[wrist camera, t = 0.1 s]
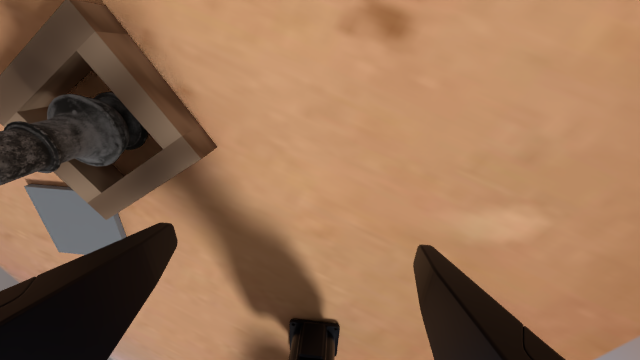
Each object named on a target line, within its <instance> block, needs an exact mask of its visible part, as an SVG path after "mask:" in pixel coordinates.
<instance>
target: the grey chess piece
mask: <svg viewBox="0 0 640 360" xmlns="http://www.w3.org/2000/svg"><path fill="white" fill-rule="evenodd" d="M147 135H148V132H147V130H146V129H145V128H144V127H143V126H142V125H141V124H140V122H139V121H138V120H137V119H136V118H135V117H134V116H133V114H132V113H131V112H130V111H129V110H128V109H127V108H126V106H125V105H124V104H123V103H122V102H121V101H120V100H119V99H118V97H117V96H116V95H115V94H114V93H113V92H106V93H101V94H99V95H97V96H96V97H95V98H94V99H93V98H88V97H83V96H80V95H74V94H66V95H60V96H58V97H56V98H54V99H53V100H52V102H51V103H50V104H49V107H48V111H47V120H44V121H39V122H35V123H27V122H22V121H15V122H11V123H9V124H7V126H6V127H5V128H4V131H0V185H3V184H5V183H8V182H11V181H13V180H16V179H19V178H21V177H24V176H26V175H29V174H32V173H34V172H42V173H51V172H54V171H56V170H57V169H58V168H59V167H60V164H61V163H64V162H66V161H69V160H72V159H74V158H75V159H77V160H79V161H81V162H83V163H86V164H88V165H92V166H107V165H110V164H112V163H114V162H115V161H116V160H117V159H118V158H119V156H120V154H121V153H122V152H123V151H124V150H125V149H126V150H131V149H136V148H138V147H140V146H142V145H143V144H144V143H145V141H146V139H147Z"/></svg>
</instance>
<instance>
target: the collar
mask: <svg viewBox="0 0 640 360" xmlns="http://www.w3.org/2000/svg"><path fill="white" fill-rule="evenodd" d="M92 69H93V70H94V71H95V72H96V73H97V75H98V76H99V77H100V78H101V79H102V80H103V81H104V83H105V84H106V85H107V86H108V87H109V88H110V89H111V91H112V92H113V93H114V94H115V95H116V96H117V97H118V99H119V100H120V101H121V102H122V103H123V104H124V105H125V106H126V108H127V109H128V110H129V111H130V112H131V113H132V114H133V116H134V117H135V118H136V119H137V120H138V121H139V122H140V124H141V125H142V126H143V127H144V128H145V129H146V130H147V132H148V133H149V134H150V135H151V136H152V137H153V138H154V139H155V141H156V142H157V143H158V144H159V145H160V146H161V147H162V149H163V150H161V151H160V152H159V153H157V154H156V155H154V156H153V157H152V158H150V159H149V160H147V161H146V162H144V163H143V164H142V165H140V166H139V167H137V168H136V169H135V170H133V171H132V172H130V173H129V174H127V175H126V176H125V177H124V176H123V175H122V174H121V173H120V172H119V171H118V170H117V169H116V168H115V167H114V166H113V165H112V164H110V165H107V166H92V165H88V164H86V163H83V162H81V161H79V160H77V159H75V158H74V159H72V160H69V161H66V162H64V163H61V164H60V167H59V168H58V169H57V170H56V171H54V173H55V174H56V175H57V176H58V177H59V178H61V179H62V180H63V181H64V182H65V183H66V184H67V185H68V186H69V187H70V188H71V189H73V190H74V191H75V192H76V193H77V194H78V195H79V196H80V197H81V198H82V199H83V200H85V201H86V202H87V203H88V204H89V205H90V206H91V207H92V208H93V209H94V210H96V211H97V212H98V213H99V214H100V215H101V216H102V217H103V218H104V219H105V220H107V219H109V218H111V217H112V216H114V215H115V214H117V213H118V212H120V211H121V210H123V209H124V208H126V207H128V206H129V205H131V204H132V203H134V202H135V201H137V200H138V199H140V198H142V197H143V196H145V195H146V194H148V193H149V192H151V191H152V190H154V189H155V188H157V187H159V186H160V185H162V184H163V183H165V182H166V181H168V180H169V179H171V178H172V177H174V176H176V175H177V174H179V173H180V172H182V171H183V170H185V169H186V168H188V167H189V166H191V165H193V164H194V163H196V162H197V161H199V160H200V159H202V158H203V157H204V156H206V155H207V154H209V153H210V152H211V151H213V150H214V149H215V148H217V146H216V145H215V144H214V142H213V141H212V140H211V139H210V137H209V136H208V135H207V134H206V132H205V131H204V130H203V129H202V127H201V126H200V125H199V123H198V122H197V121H196V120H195V118H194V117H193V116H192V115H191V113H190V112H189V111H188V110H187V108H186V107H185V106H184V104H183V103H182V102H181V101H180V99H179V98H178V97H177V96H176V94H175V93H174V92H173V91H172V89H171V88H170V87H169V85H168V84H167V83H166V82H165V80H164V79H163V78H162V77H161V75H160V74H159V73H158V72H157V70H156V69H155V68H154V66H153V65H152V64H151V63H150V61H149V60H148V59H147V58H146V56H145V55H144V54H143V53H142V51H141V50H140V49H139V48H138V46H137V45H136V44H135V42H134V41H133V40H132V39H131V37H130V36H129V35H128V34H127V32H126V31H125V30H124V29H123V27H122V26H121V25H120V23H119V22H118V21H117V20H116V18H115V17H114V16H113V15H112V13H111V12H110V11H109V10H108V8H107V7H106V6H105V5H100V4H95V3H90V2H85V1H80V0H65V1H64V2H63V3H62V4H61V5H60V7H59V8H58V9H57V10H56V11H55V12H54V14H53V15H52V16H51V17H50V18H49V19H48V21H47V22H46V23H45V24H44V25H43V26H42V27H41V29H40V30H39V31H38V32H37V33H36V34H35V36H34V37H33V38H32V39H31V40H30V41H29V43H28V44H27V45H26V46H25V47H24V48H23V50H22V51H21V52H20V53H19V54H18V55H17V56H16V58H15V59H14V60H13V61H12V62H11V63H10V65H9V66H8V67H7V68H6V69H5V70H4V72H3V73H2V74H1V75H0V124H2V125H3V126H4V127H6V126H7V124H9V123H11V122H15V121H22V122H27V123H35V122H39V121H44V120H47V111H48V107H49V104H50V103H51V102H52V100H53V99H54V98H56V97H58V96H60V95H66V94H67V93H68V92H69V91H70V90H71V89H72V88H73V87H74V86H75V85H76V84H77V83H78V82H79V81H80V80H81V79H82V78H83V77H84V76H86V75H87V74H88V73H89V72H90V71H91V70H92Z"/></svg>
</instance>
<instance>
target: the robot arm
mask: <svg viewBox="0 0 640 360" xmlns="http://www.w3.org/2000/svg"><path fill="white" fill-rule="evenodd" d="M176 247H177V237H176V234H175V230H174V226H173V225H172V224H170V223H158V224H156V225H153V226H151V227H149V228H146V229H144V230H142V231H139V232H137V233H135V234H133V235H130V236H128V237H126V238H123V239H121V240H119V241H116V242H114V243H112V244H109V245H107V246H105V247H102V248H100V249H98V250H95V251H93V252H91V253H89V254H86V255H84V256H82V257H79V258H77V259H75V260H72V261H70V262H68V263H65V264H63V265H61V266H58V267H56V268H54V269H51V270H49V271H47V272H44V273H42V274H40V275H38V276H37V277H33V278H30V279H28V280H26V281H23V282H21V283H19V284H17V285H14V286H12V287H9V288H7V289H5V290H2V291H0V360H107V359H108V358H109V356H110V355H111V353H112V352H113V350H114V349H115V347H116V346H117V344H118V343H119V341H120V340H121V338H122V336H123V335H124V333H125V332H126V330H127V329H128V327H129V326H130V324H131V323H132V321H133V320H134V318H135V317H136V315H137V314H138V312H139V311H140V309H141V308H142V306H143V305H144V303H145V302H146V300H147V298H148V297H149V295H150V294H151V292H152V291H153V289H154V288H155V286H156V285H157V283H158V281H159V279H160V277H161V276H162V274H163V272H164V270H165V268H166V266H167V264H168V262H169V260H170V259H171V257H172V255H173V253H174V251H175V249H176ZM413 266H414V274H415V280H416V286H417V292H418V298H419V304H420V310H421V314H422V318H423V321H424V325H425V328H426V332H427V335H428V339H429V342H430V346H431V349H432V353H433V357H434V360H565V359H564V358H563V357H562V356H560V355H559V354H558V353H557V352H555V351H554V350H553V349H552V348H551V347H549V346H548V345H547V344H546V343H545V342H543V341H542V340H541V339H540V338H539V337H537V336H536V335H535V334H534V333H533V332H532V331H530V330H529V329H528V328H527V327H526V326H523V324H522V323H521V322H520V321H519V320H518V319H516V318H515V317H514V316H513V315H512V314H511V313H509V312H508V311H507V310H506V309H505V308H504V307H502V306H501V305H500V304H499V303H498V302H497V301H495V300H494V299H493V298H492V297H491V296H490V295H488V294H487V293H486V292H485V291H484V290H483V289H481V288H480V287H479V286H478V285H477V284H476V283H474V282H473V281H472V280H471V279H470V278H469V277H467V276H466V275H465V274H464V273H463V272H462V271H461V270H459V269H458V268H457V267H456V266H455V265H454V264H452V263H451V262H450V261H449V260H448V259H447V258H445V257H444V256H443V255H442V254H441V253H440V252H438V251H437V250H436V249H435V248H434V247H432V246H431V245H419V246H418V248H417V252H416V255H415V259H414V265H413ZM339 330H340V326H339V325H338V324H333V323H324V322H315V321H306V320H297V319H292V320H290V355H289V360H334V357H335V356H336V354H337V346H338V338H339Z"/></svg>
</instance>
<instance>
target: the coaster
mask: <svg viewBox="0 0 640 360" xmlns="http://www.w3.org/2000/svg"><path fill="white" fill-rule="evenodd" d="M24 187H25V189H26V191H27V193H28V195H29V197H30V198H31V200H32V202H33V204H34V206H35V208H36V210H37V212H38V214H39V215H40V217H41V219H42V221H43V223H44V225H45V227H46V229H47V231H48V232H49V234H50V236H51V238H52V240H53V242H54V244H55V246H56V248H57V249H58V251H59V252H64V253H74V254H84V255H86V254H89V253H91V252H93V251H95V250H98V249H100V248H102V247H105V246H107V245H109V244H112V243H114V242H116V241H119V240H121V239H123V238H126V234H125V232H124V229H123V226H122V223H121V221H120V218H119V215H118V213H117V214H115V215H114V216H112V217H111V218H109V219H107V220H105V219H104V218H103V217H102V216H101V215H100V214H99V213H98V212H97V211H96V210H94V209H93V208H92V207H91V206H90V205H89V204H88V203H87V202H86V201H85V200H83V199H82V198H81V197H80V196H79V195H78V194H77V193H76V192H75V191H74V190H73V189H71V188H70V187H61V186H49V185H37V184H29V185H27V186H24Z"/></svg>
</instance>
